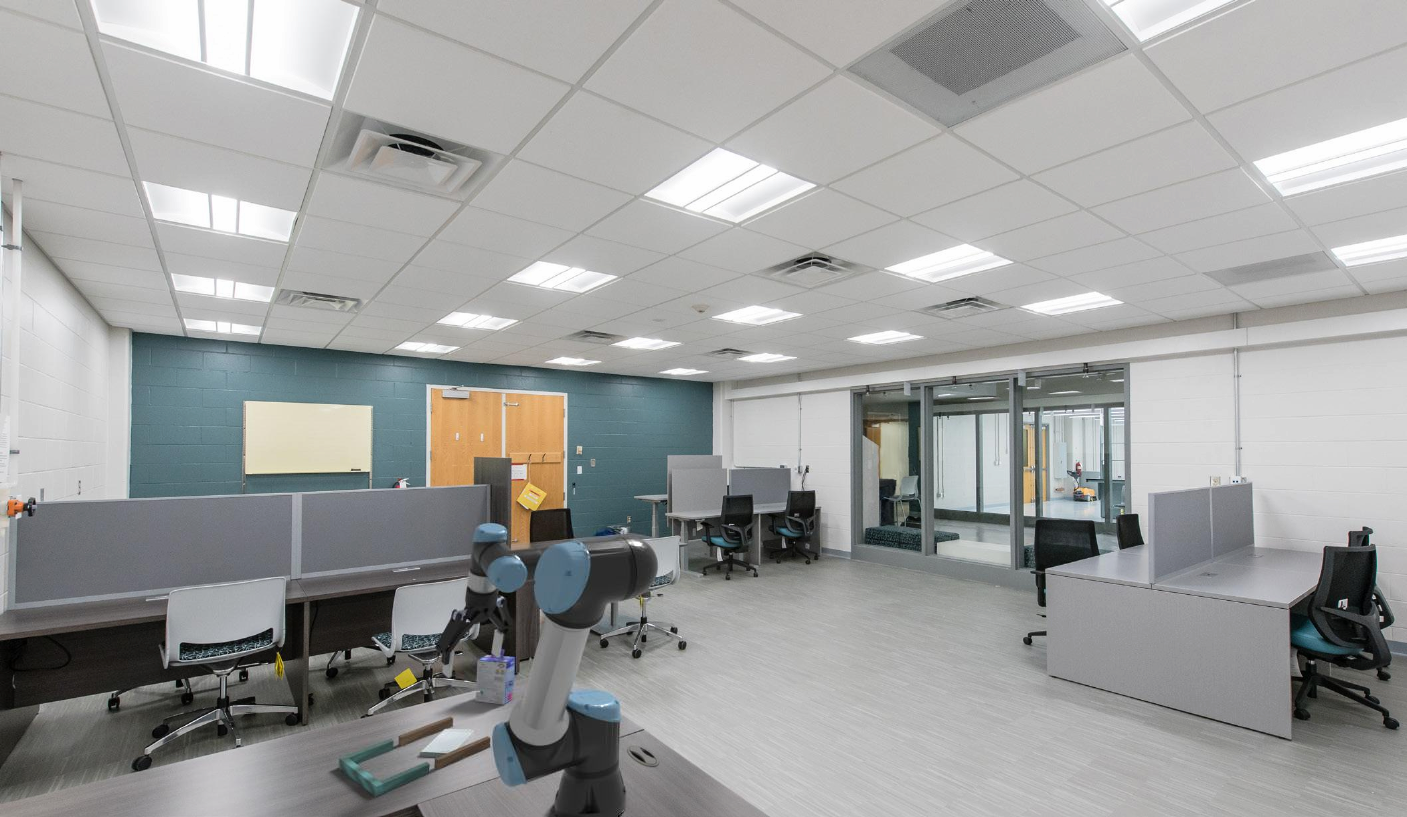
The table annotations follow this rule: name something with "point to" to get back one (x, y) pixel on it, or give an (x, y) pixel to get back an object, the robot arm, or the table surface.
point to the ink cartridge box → (495, 679)
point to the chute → (381, 787)
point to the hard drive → (447, 742)
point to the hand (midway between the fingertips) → (472, 664)
